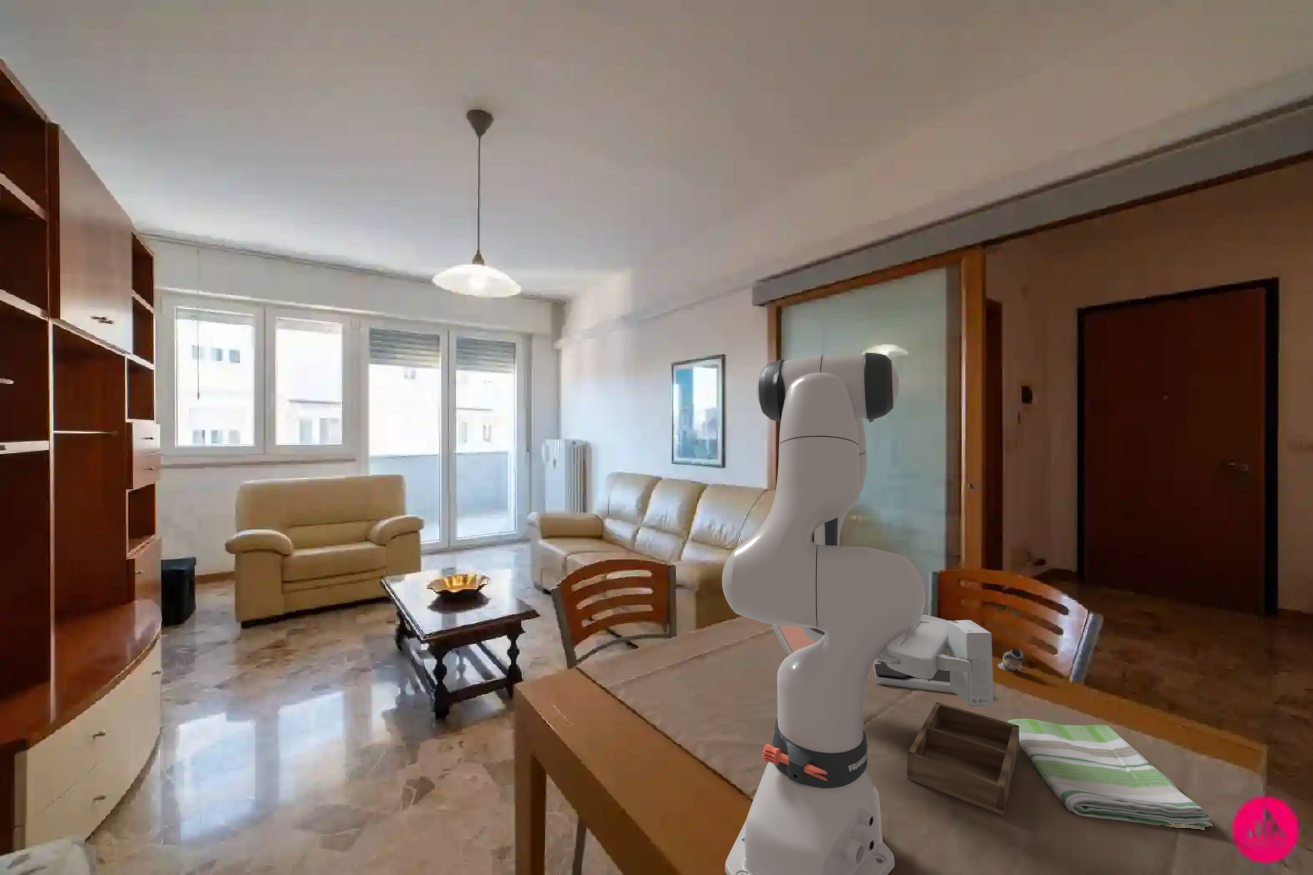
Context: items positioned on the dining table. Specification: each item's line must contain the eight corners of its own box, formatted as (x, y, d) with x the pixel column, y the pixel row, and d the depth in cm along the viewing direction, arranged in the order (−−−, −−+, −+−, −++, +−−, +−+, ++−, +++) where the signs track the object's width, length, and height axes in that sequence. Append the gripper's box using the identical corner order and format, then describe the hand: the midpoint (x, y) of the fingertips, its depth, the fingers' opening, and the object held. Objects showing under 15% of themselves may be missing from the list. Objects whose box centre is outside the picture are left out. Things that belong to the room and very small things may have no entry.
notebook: (768, 622, 150) (768, 615, 150) (828, 621, 150) (828, 614, 150) (790, 665, 123) (789, 657, 123) (863, 665, 122) (863, 656, 122)
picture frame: (876, 686, 113) (988, 700, 106) (876, 673, 113) (988, 686, 106) (870, 655, 128) (968, 666, 121) (870, 644, 128) (968, 654, 121)
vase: (1033, 680, 113) (1030, 652, 113) (1003, 679, 115) (1001, 651, 114) (1024, 668, 118) (1021, 642, 118) (996, 667, 120) (993, 641, 120)
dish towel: (1067, 817, 75) (1067, 792, 74) (1002, 726, 97) (1002, 707, 97) (1217, 838, 70) (1217, 812, 70) (1113, 738, 93) (1113, 718, 93)
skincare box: (995, 706, 86) (995, 633, 86) (967, 707, 86) (967, 633, 86) (972, 687, 92) (972, 619, 92) (947, 688, 92) (946, 619, 92)
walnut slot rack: (1003, 815, 74) (1003, 787, 74) (907, 778, 82) (907, 753, 82) (1019, 749, 89) (1019, 725, 89) (936, 723, 97) (936, 701, 97)
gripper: (870, 638, 89) (964, 660, 80) (904, 604, 105) (985, 620, 96) (870, 675, 89) (964, 701, 81) (904, 636, 105) (985, 654, 96)
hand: (976, 657), depth 89 cm, fingers closed on skincare box, 7 cm apart
